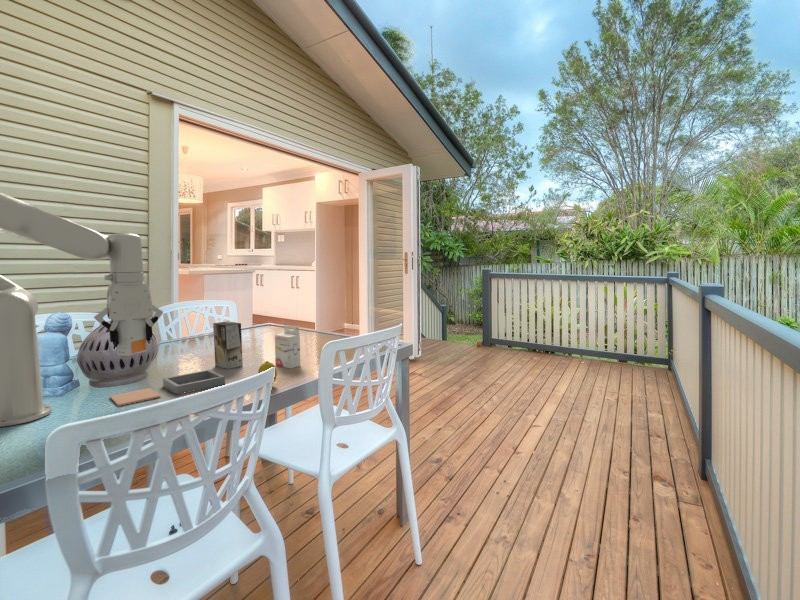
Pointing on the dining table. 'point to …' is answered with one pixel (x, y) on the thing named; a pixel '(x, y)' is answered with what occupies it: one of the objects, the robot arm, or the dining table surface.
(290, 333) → the ink cartridge box
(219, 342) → the coffee box
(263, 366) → the lemon
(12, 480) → the dining table surface
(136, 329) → the skincare box
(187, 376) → the tray
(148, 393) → the tile
